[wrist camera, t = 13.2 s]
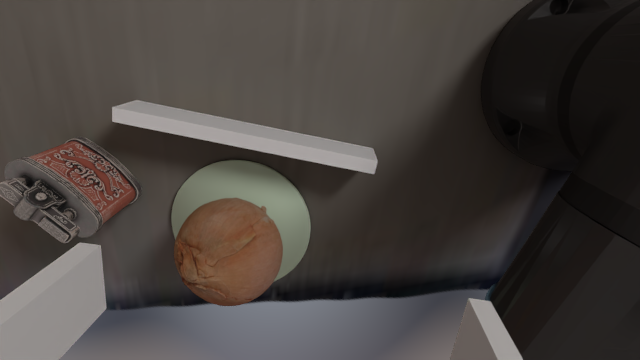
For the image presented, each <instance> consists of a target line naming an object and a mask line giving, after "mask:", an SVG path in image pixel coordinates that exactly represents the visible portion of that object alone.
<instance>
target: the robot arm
mask: <svg viewBox="0 0 640 360" xmlns="http://www.w3.org/2000/svg"><path fill="white" fill-rule="evenodd" d="M481 98H482V106H483V111H484V115H485V118H486V121H487V123H488V125H489V127H490V129H491V131H492V132H493V134H494V135H495V137H496V138H497V139H498V140H499V141H500V142H501V144H503V145H504V146H505V147H506V148H507V149H509V150H510V151H511V152H513V153H514V154H516V155H518V156H519V157H521V158H523V159H524V160H526V161H528V162H530V163H532V164H535V165H538V166H541V167H544V168H548V169H553V170H561V171H572V173H571V174H570V176H569V177H568V179H567V180H566V182H565V183H564V185H563V186H562V188H561V189H560V191H559V192H558V193H557V194H556V196H555V197H554V199H553V200H552V202H551V204H550V205H549V207H548V208H547V210H546V211H545V213H544V214H543V216H542V218H541V219H540V221H539V222H538V224H537V225H536V227H535V228H534V230H533V232H532V233H531V235H530V236H529V238H528V239H527V241H526V242H525V244H524V245H523V247H522V248H521V250H520V251H519V253H518V254H517V256H516V257H515V259H514V260H513V262H512V263H511V265H510V266H509V268H508V269H507V271H506V272H505V274H504V275H503V277H502V278H501V280H500V281H499V282H497V283H496V284H495V285H492V286H491V288H490V289H489V291H488V293H487V295H486V298H485V300H478V299H471V298H469V299H468V301H467V304H466V308H465V311H464V314H463V318H462V321H461V324H460V328H459V331H458V334H457V337H456V341H455V344H454V348H453V351H452V354H451V357H450V360H640V0H533V1H532V2H530V3H529V4H527V5H526V6H525V7H524V8H523V9H521V10H520V11H519V12H518V13H517V14H516V15H515V16H514V17H513V18H512V19H511V20H510V22H509V23H508V24H507V25H506V26H505V28H504V29H503V30H502V32H501V33H500V35H499V36H498V38H497V40H496V41H495V43H494V45H493V47H492V49H491V51H490V53H489V56H488V58H487V61H486V64H485V68H484V72H483V77H482V86H481ZM105 310H106V299H105V288H104V276H103V265H102V254H101V245H94V244H87V243H78V244H77V245H76V246H74V247H73V248H71V249H70V250H69V251H67V252H66V253H65V254H63V255H62V256H60V257H59V258H58V259H56V260H55V261H54V262H52V263H51V264H49V265H48V266H47V267H45V268H44V269H43V270H41V271H40V272H38V273H37V274H36V275H34V276H33V277H32V278H30V279H29V280H27V281H26V282H25V283H23V284H22V285H21V286H19V287H18V288H16V289H15V290H14V291H12V292H11V293H10V294H8V295H7V296H5V297H4V298H3V299H1V300H0V360H59V359H60V358H61V357H62V356H63V355H64V354H65V353H66V352H67V351H68V349H69V348H70V347H71V346H72V345H73V344H74V343H75V342H76V341H77V340H78V339H79V338H80V336H81V335H82V334H83V333H84V332H85V331H86V330H87V329H88V328H89V327H90V326H91V325H92V324H93V322H94V321H95V320H96V319H97V318H98V317H99V316H100V315H101V314H102V313H103V312H104V311H105Z"/></svg>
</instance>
